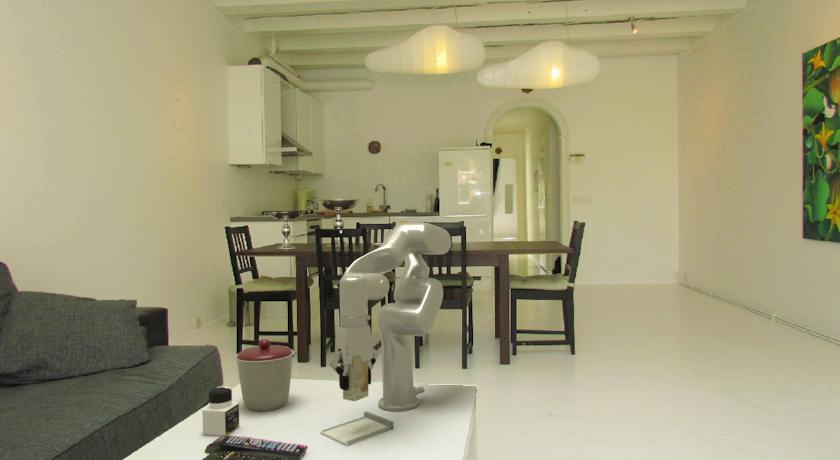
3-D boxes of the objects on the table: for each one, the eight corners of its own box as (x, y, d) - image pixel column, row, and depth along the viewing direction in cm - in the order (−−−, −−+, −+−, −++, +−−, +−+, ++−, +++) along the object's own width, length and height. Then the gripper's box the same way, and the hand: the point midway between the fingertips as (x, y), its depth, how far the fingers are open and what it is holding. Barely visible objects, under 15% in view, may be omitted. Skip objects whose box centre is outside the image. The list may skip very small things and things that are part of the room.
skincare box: (355, 402, 149) (353, 356, 149) (342, 399, 151) (341, 354, 151) (369, 395, 154) (368, 351, 154) (357, 393, 157) (356, 349, 156)
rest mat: (366, 418, 163) (366, 411, 163) (393, 428, 154) (393, 421, 154) (320, 433, 152) (320, 426, 152) (346, 446, 143) (346, 438, 143)
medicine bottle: (226, 436, 151) (224, 392, 151) (202, 435, 153) (201, 391, 153) (239, 427, 158) (238, 385, 158) (217, 425, 160) (215, 384, 160)
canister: (266, 419, 164) (264, 348, 163) (223, 410, 172) (221, 342, 172) (307, 401, 179) (305, 336, 179) (266, 393, 188) (264, 331, 188)
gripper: (370, 315, 161) (372, 377, 161) (319, 324, 149) (321, 390, 149) (387, 318, 156) (388, 382, 156) (335, 327, 144) (337, 396, 144)
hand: (355, 385), depth 153 cm, fingers closed on skincare box, 6 cm apart
